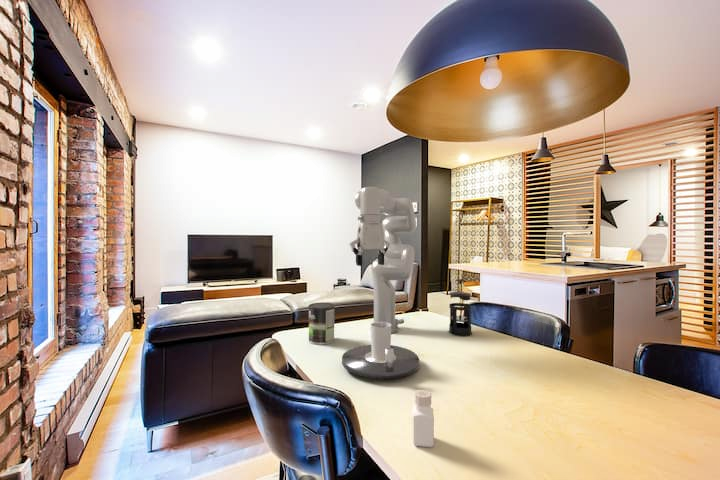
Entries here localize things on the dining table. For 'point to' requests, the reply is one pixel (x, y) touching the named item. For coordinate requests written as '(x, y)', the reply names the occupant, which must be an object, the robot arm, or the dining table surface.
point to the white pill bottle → (423, 420)
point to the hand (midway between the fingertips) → (370, 265)
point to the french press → (455, 327)
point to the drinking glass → (380, 339)
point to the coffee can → (321, 323)
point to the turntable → (380, 362)
